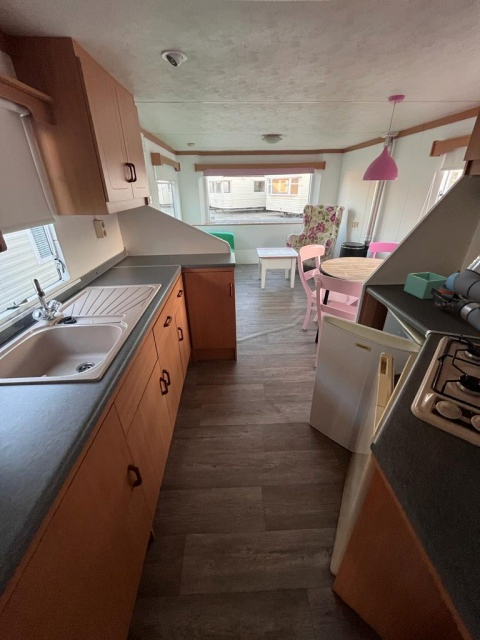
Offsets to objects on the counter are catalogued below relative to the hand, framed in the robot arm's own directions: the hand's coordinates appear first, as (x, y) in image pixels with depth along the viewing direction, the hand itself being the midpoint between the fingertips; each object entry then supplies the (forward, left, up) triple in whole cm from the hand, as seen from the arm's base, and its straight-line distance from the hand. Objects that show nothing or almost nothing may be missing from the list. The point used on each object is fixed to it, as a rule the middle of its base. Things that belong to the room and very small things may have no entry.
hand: (439, 290), depth 128 cm
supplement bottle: (-5, +1, -6) cm, 8 cm away
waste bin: (+16, -8, -8) cm, 19 cm away
